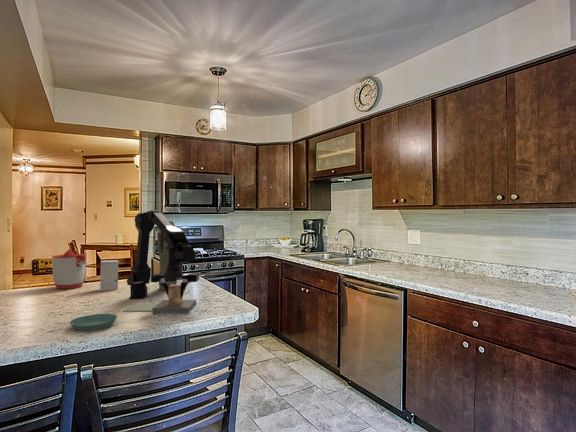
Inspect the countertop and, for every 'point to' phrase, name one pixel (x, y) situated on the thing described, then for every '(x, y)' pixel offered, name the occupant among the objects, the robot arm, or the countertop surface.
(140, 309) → the rubber mat
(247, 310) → the countertop surface
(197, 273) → the robot arm
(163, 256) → the thermos
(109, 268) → the skincare box
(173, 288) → the wooden plug
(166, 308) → the grey flat square slab
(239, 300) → the countertop surface
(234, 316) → the countertop surface
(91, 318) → the saucer
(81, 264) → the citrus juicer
